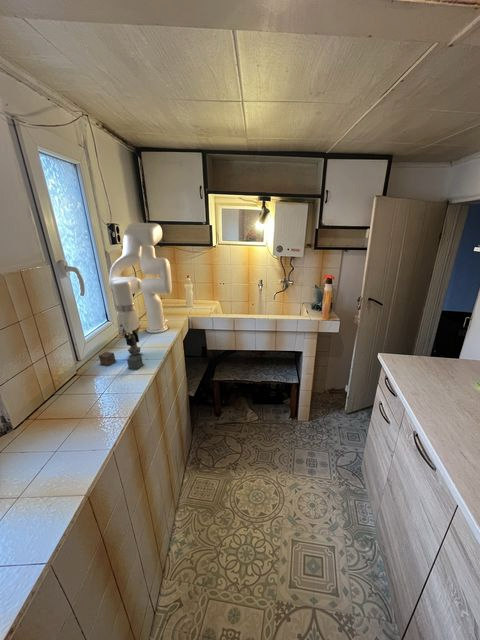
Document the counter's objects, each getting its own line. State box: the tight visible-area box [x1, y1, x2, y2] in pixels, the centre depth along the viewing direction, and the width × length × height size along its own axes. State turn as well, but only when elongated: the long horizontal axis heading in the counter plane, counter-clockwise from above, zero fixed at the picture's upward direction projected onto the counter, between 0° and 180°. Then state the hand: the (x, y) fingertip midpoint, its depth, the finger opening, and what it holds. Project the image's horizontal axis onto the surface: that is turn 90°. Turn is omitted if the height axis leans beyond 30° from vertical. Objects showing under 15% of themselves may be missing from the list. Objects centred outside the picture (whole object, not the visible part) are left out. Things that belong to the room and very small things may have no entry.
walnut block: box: [98, 351, 116, 366], centre depth 132 cm, size 4×4×4 cm
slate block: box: [126, 355, 144, 370], centre depth 129 cm, size 4×4×4 cm
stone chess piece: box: [127, 333, 142, 358], centre depth 138 cm, size 6×6×12 cm
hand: (133, 343), depth 138 cm, fingers closed on stone chess piece, 3 cm apart
